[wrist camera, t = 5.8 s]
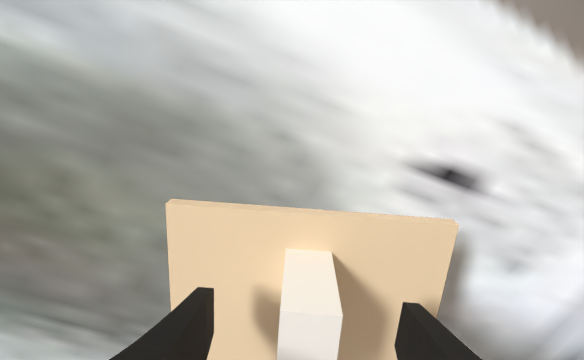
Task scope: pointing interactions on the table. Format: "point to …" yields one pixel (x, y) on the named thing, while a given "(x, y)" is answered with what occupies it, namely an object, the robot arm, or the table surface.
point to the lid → (305, 276)
